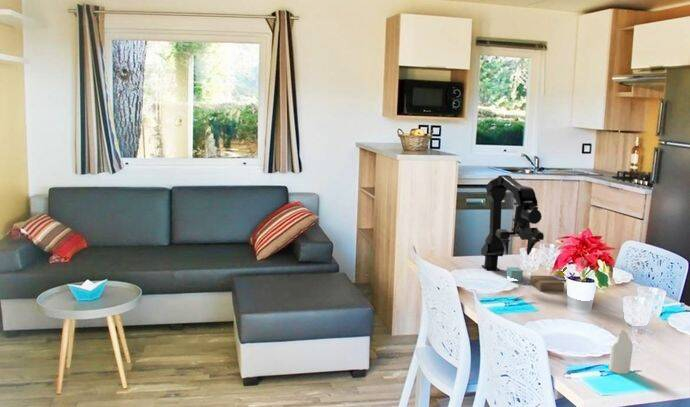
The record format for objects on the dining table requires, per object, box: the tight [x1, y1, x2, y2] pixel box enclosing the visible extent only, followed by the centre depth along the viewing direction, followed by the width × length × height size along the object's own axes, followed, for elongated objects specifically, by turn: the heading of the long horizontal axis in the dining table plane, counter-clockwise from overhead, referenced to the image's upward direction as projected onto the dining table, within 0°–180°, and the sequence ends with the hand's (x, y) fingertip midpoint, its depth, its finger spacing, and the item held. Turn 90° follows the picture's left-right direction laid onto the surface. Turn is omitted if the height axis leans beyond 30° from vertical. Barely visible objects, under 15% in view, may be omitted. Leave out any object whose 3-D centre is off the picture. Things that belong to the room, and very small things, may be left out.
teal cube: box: [505, 266, 524, 283], centre depth 264 cm, size 5×5×5 cm
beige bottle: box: [608, 329, 634, 375], centre depth 179 cm, size 6×12×6 cm
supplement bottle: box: [552, 254, 567, 281], centre depth 270 cm, size 7×7×13 cm
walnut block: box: [529, 275, 565, 293], centre depth 256 cm, size 10×10×4 cm
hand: (517, 254), depth 257 cm, fingers open, 9 cm apart
